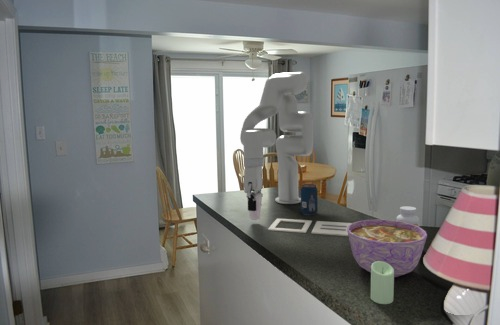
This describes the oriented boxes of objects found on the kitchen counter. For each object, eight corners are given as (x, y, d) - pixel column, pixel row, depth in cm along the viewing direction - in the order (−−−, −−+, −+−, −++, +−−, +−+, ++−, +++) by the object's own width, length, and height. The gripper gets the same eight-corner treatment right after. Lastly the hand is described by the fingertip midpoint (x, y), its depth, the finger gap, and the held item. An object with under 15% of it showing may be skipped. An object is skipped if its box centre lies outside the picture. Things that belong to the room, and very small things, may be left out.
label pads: (276, 219, 155) (276, 218, 155) (354, 224, 146) (354, 223, 146) (267, 230, 142) (267, 228, 142) (352, 236, 133) (352, 234, 132)
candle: (397, 303, 87) (398, 269, 86) (375, 305, 87) (376, 270, 85) (387, 293, 92) (388, 260, 91) (367, 294, 92) (367, 261, 90)
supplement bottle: (401, 242, 125) (402, 204, 124) (422, 247, 121) (423, 207, 119) (391, 248, 121) (393, 208, 119) (413, 253, 116) (414, 212, 114)
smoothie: (261, 221, 146) (260, 184, 144) (245, 220, 148) (244, 184, 146) (264, 216, 153) (263, 181, 151) (248, 215, 154) (247, 181, 152)
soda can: (307, 210, 168) (307, 183, 166) (320, 213, 163) (320, 185, 161) (297, 213, 163) (297, 185, 161) (310, 216, 158) (310, 187, 156)
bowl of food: (383, 252, 117) (384, 215, 116) (442, 277, 100) (444, 234, 98) (331, 266, 108) (331, 226, 107) (386, 295, 91) (387, 248, 89)
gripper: (251, 159, 157) (252, 202, 159) (236, 165, 140) (238, 213, 143) (269, 159, 154) (269, 203, 157) (256, 166, 138) (257, 214, 140)
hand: (254, 207), depth 150 cm, fingers closed on smoothie, 6 cm apart
